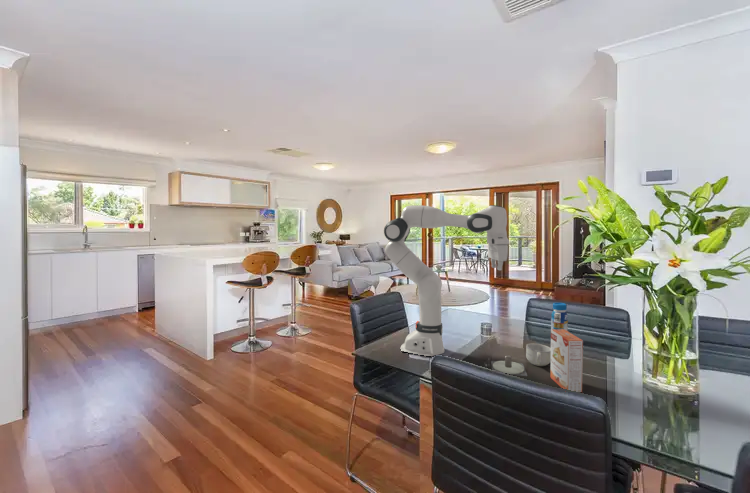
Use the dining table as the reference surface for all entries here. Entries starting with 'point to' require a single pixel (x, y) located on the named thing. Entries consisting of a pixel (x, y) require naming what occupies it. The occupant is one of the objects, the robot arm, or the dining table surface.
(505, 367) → the lid
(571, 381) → the cracker box
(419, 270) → the robot arm
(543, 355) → the teacup
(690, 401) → the dining table surface
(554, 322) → the beverage bottle
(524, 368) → the mat
